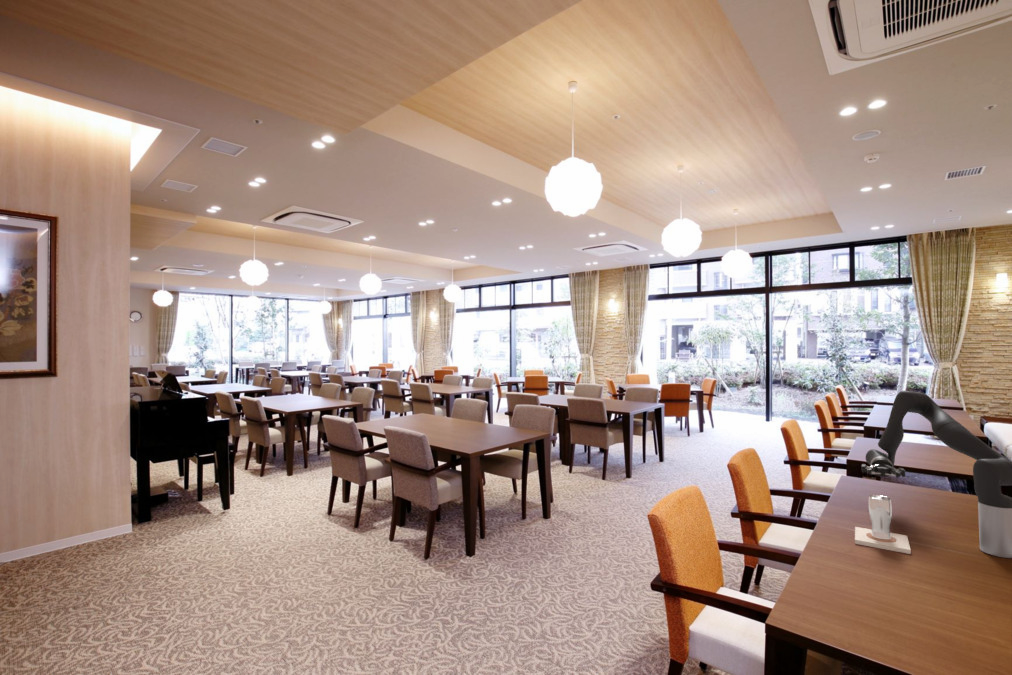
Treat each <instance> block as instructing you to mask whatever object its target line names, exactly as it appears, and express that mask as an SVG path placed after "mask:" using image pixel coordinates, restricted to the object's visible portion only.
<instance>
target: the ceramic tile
mask: <svg viewBox="0 0 1012 675" xmlns="http://www.w3.org/2000/svg"><path fill="white" fill-rule="evenodd" d="M871 531H872V528H865V527H859V526H854V543H855V544H856V545H861V546H866V547H871V548H875V549H880V550H881V549H882V550H887V551H893V552H896V553H904V554H908V555H912V553H911V552H912V551H911V546H910V542H909V539H908V538H909V537H908V535H907V534H906V535H905V534H899V533H894V532H890V535H891V540H881V539H877V538H874V537H872V536H871Z"/></svg>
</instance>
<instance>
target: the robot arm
mask: <svg viewBox="0 0 1012 675" xmlns="http://www.w3.org/2000/svg"><path fill="white" fill-rule="evenodd" d="M908 413H912V414H913V413H914V414H917V415H918V414H919V415H921V416H922V417H923V418H925V419H926V420H927V421H928V422H930V426H931V430H932V433H933V435H934V436H935V437H936V438H937V439H939V441H941V442H942V443H943V444H944V445H946V446H947V447H948V448H951V449H952V450H954V451H957V453H961V454H963V455H965V456H968V457H970V458H972V459H974V460H975V462H974V464H973V465H972V466H973V467H972V475H973V476H972V478H973V483H974V484H973V485H974V492H975V494H976V496H977V497H976V498H977V506H978V507H977V511H978V534H979V535H978V536H979V537H978V538H979V542H978V543H979V549H980V551H982V552H983V553H985V554H988V555H991V556H995V557H999V558H1005V559H1012V497H1011V496H1008V495H1006V494H1003V493H1002V491H1001V486H1006V487H1007V486H1012V460H1011V459H1009V458H1008V457H1006V456H1005V455H1003V454H1002V453H1000V452H999V451H997V450H995V449H993V448H992V447H990V446H989V445H988V444H986V443H985V442H984V441H982V440H981V439H980V438H979V437H977V435H975V434H974V433H972V432H971V431H970V430H969V429H968V428H966V427H965V426H964V425H963V424H962V423H960V422H958V421H957V420H956V419H954V418H953V417H952V416H951V415H950V414H948V413H947V412H946V411H944V410H943V409H942V408H941V407H940V406H939V405H938V403H936V402H935V401H934V400H933V399H932V398H931V397H930V396H929V395H927V394H926V393H924V392H920V391H912V390H901V391H899V392H898V393H897V394H896V396H895V398H894V401H893V404H892V407H891V411H890V413H889V418H888V422H887V424H886V427H885V429H884V431H883V433H882V435H881V437H880V438H879V440H878V443H877V446H878V447H879V448H880V449H881V450H883V451H884V452H882V451H880V450H877V449H870V450H868V451H867V452H866V453H865V461H866V463H867V464H868V465H869V466H868V465H867V464H865V463H862V464H861V473H862V474H863V473H867V474H869V475H870V476H873V475H876V476H878V477H882V478H887V477H890V476H891V477H895V478H897V479H898V478H900V477H902V478H905V477H907V476H906V470H905V469H904V468H903V467H899V468H896V467H894V466H895V462H896V459H895V458H896V454H897V451H898V448H899V447H900V445H901V443H902V441H903V439H904V435H905V433H904V432H905V431H904V426H903V423H904V422H903V421H904V418H905V416H906V415H907V414H908ZM885 452H886V453H885Z"/></svg>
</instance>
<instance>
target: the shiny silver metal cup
mask: <svg viewBox="0 0 1012 675" xmlns="http://www.w3.org/2000/svg"><path fill="white" fill-rule="evenodd" d="M868 513H869V518H870V522H871V529H872V531H871V536H872V537H874V538H877V539H881V540H891V535H890V533H891V530H890V526H891V522H892V516H893V515H892V514H893V506H892V498H890V497H888V496H886V495H880V494H870V495H869V496H868Z"/></svg>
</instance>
